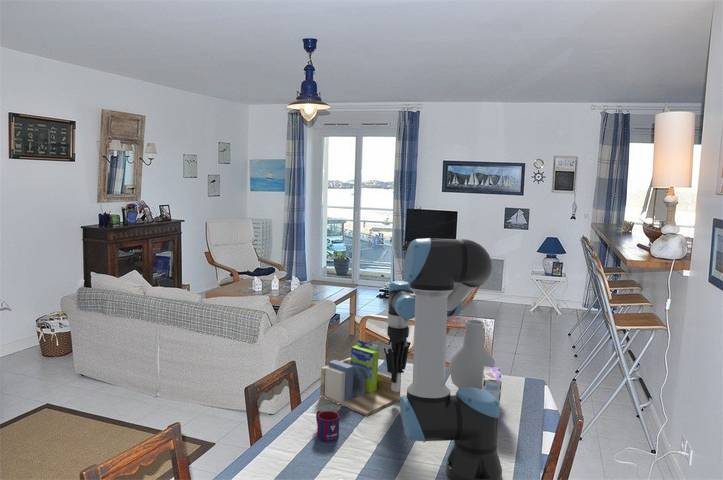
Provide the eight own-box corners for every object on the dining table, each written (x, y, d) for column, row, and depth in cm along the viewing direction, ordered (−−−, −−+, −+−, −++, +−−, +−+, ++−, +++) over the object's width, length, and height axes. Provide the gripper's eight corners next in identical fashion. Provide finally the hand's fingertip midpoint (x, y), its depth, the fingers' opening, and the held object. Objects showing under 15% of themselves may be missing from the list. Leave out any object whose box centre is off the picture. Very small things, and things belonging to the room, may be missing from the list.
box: (348, 386, 208) (350, 341, 207) (355, 383, 212) (357, 339, 210) (370, 394, 202) (373, 347, 200) (377, 391, 205) (380, 345, 204)
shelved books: (342, 402, 194) (343, 369, 193) (324, 395, 200) (325, 363, 198) (352, 398, 198) (353, 365, 197) (333, 391, 204) (334, 359, 202)
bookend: (355, 398, 198) (355, 382, 197) (334, 390, 204) (335, 375, 203) (365, 394, 202) (365, 378, 201) (344, 386, 208) (345, 371, 208)
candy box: (498, 429, 180) (502, 381, 178) (480, 427, 181) (483, 379, 179) (497, 412, 194) (500, 366, 192) (479, 410, 195) (482, 364, 193)
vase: (445, 400, 202) (450, 325, 198) (449, 383, 218) (453, 314, 214) (492, 406, 198) (498, 330, 194) (493, 389, 214) (498, 318, 210)
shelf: (367, 415, 187) (368, 384, 185) (320, 396, 201) (321, 367, 199) (402, 398, 202) (403, 369, 201) (356, 382, 216) (357, 354, 215)
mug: (322, 443, 167) (323, 422, 166) (309, 429, 176) (310, 408, 175) (342, 439, 170) (343, 418, 169) (328, 425, 179) (329, 405, 178)
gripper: (395, 331, 187) (393, 398, 190) (417, 324, 197) (414, 388, 200) (378, 326, 192) (375, 392, 194) (400, 320, 202) (397, 383, 204)
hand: (395, 390), depth 197 cm, fingers closed
